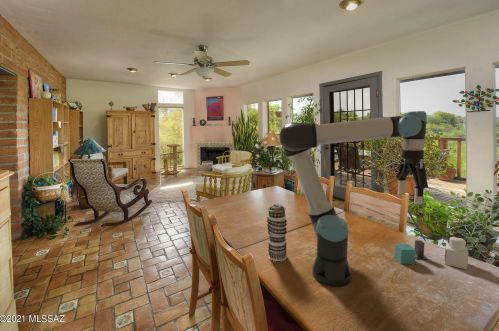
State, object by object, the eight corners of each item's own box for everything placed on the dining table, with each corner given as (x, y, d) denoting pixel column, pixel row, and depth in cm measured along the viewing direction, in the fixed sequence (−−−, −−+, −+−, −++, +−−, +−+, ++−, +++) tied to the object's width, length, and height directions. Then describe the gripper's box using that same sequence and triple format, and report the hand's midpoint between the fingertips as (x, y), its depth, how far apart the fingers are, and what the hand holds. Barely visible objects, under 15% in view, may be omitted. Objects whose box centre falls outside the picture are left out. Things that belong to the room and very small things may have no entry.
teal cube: (400, 263, 105) (401, 249, 104) (394, 257, 111) (395, 243, 110) (414, 264, 105) (415, 250, 104) (407, 257, 110) (408, 243, 109)
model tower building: (263, 257, 114) (262, 206, 111) (275, 250, 121) (274, 201, 118) (279, 264, 108) (278, 210, 105) (291, 256, 115) (290, 205, 111)
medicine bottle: (444, 257, 109) (447, 232, 108) (466, 262, 105) (468, 236, 103) (444, 264, 104) (446, 238, 102) (466, 270, 99) (469, 242, 98)
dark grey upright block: (415, 259, 109) (416, 244, 108) (409, 253, 113) (410, 239, 112) (427, 259, 108) (429, 244, 107) (421, 253, 113) (422, 239, 112)
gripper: (442, 152, 88) (437, 208, 91) (407, 147, 112) (403, 191, 116) (420, 152, 89) (415, 208, 92) (389, 147, 113) (386, 191, 116)
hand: (409, 199), depth 104 cm, fingers open, 13 cm apart
